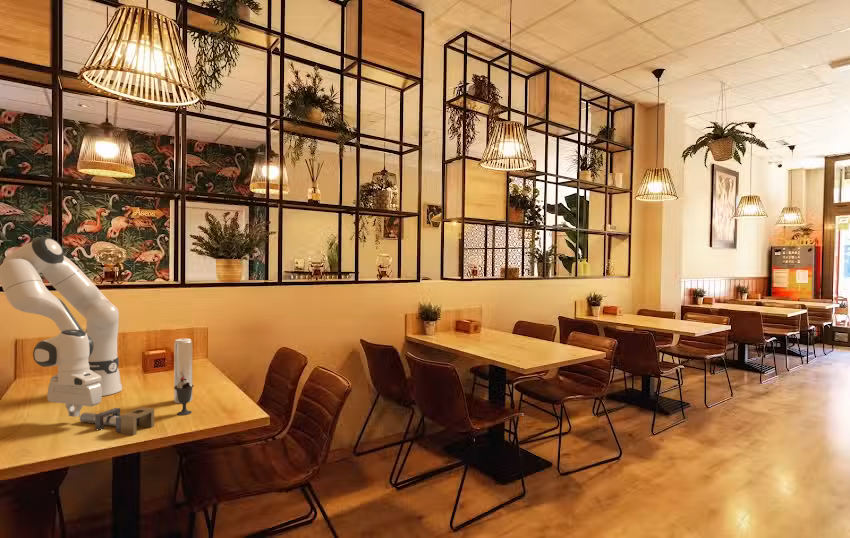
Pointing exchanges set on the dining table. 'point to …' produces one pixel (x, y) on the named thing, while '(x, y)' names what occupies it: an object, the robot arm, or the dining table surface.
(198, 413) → the dining table surface
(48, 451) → the dining table surface
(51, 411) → the dining table surface
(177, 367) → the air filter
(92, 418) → the tube
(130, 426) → the aperture bridge
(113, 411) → the collar
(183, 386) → the sundae
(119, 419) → the collar
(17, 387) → the dining table surface
